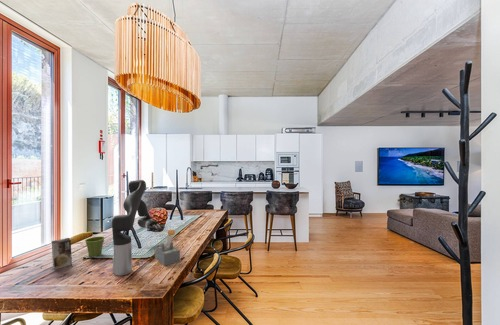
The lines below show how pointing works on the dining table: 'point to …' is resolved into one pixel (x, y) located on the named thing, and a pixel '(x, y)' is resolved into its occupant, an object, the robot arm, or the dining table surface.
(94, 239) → the plant pot
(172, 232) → the breaker lever
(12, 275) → the dining table surface
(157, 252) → the box
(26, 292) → the dining table surface
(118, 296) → the dining table surface
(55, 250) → the coffee box
